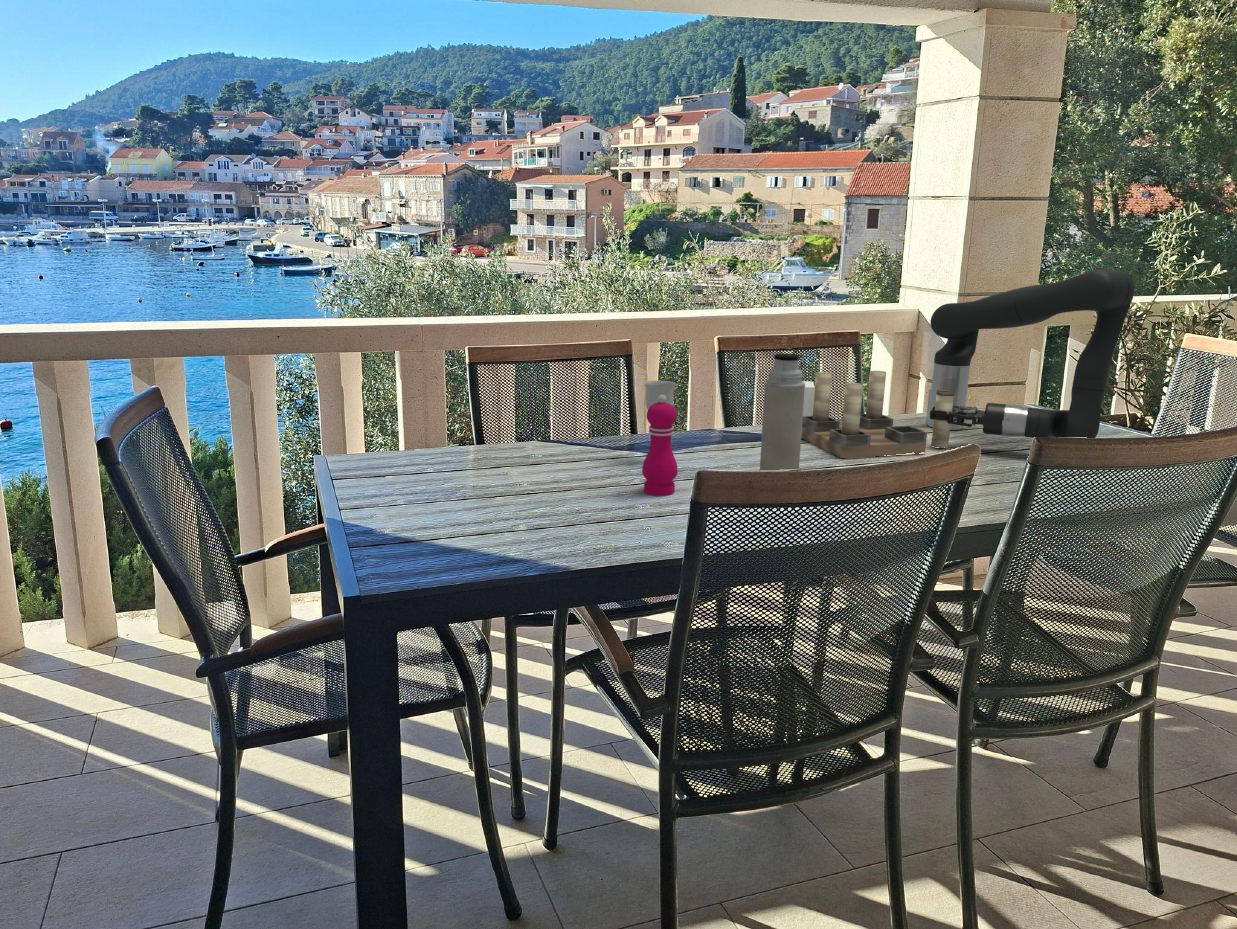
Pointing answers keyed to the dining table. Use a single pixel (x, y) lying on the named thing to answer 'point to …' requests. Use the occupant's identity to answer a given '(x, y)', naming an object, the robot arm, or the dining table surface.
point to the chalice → (659, 391)
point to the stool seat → (858, 423)
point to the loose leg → (940, 426)
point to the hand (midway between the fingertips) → (931, 412)
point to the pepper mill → (660, 450)
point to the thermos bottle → (782, 415)
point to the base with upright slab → (808, 398)
